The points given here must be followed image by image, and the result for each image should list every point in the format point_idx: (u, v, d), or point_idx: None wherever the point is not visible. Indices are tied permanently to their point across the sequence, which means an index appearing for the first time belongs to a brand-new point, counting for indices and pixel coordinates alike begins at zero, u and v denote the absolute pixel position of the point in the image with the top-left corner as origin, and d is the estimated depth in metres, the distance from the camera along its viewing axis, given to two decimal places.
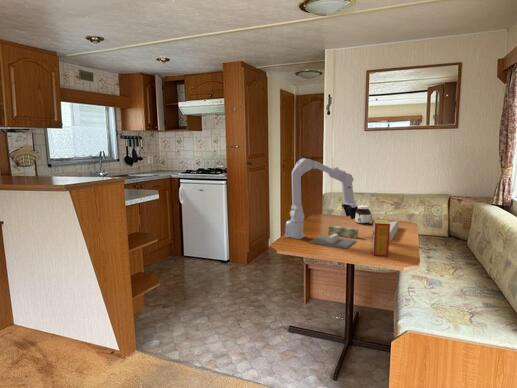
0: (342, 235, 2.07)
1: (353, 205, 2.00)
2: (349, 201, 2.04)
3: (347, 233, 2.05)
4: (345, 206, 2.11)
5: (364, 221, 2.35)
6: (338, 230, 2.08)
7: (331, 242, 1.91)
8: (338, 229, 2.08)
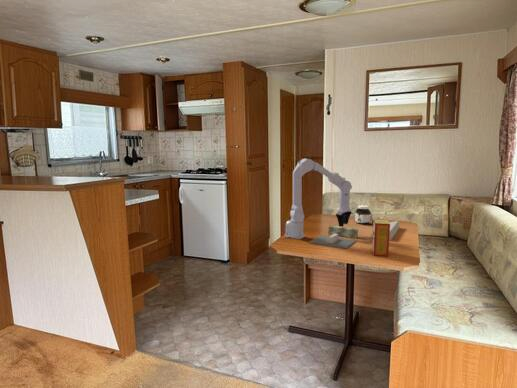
0: (342, 235, 2.07)
1: (339, 212, 2.01)
2: (341, 208, 2.05)
3: (347, 233, 2.05)
4: (344, 213, 2.11)
5: (364, 221, 2.35)
6: (338, 230, 2.08)
7: (331, 242, 1.91)
8: (338, 229, 2.08)
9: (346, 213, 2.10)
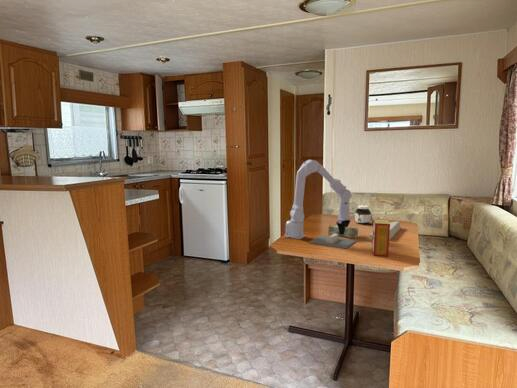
0: (342, 235, 2.07)
1: (338, 221, 2.02)
2: (341, 216, 2.05)
3: (347, 232, 2.06)
4: None
5: (364, 221, 2.35)
6: None
7: (331, 242, 1.91)
8: (338, 229, 2.08)
9: (345, 222, 2.09)
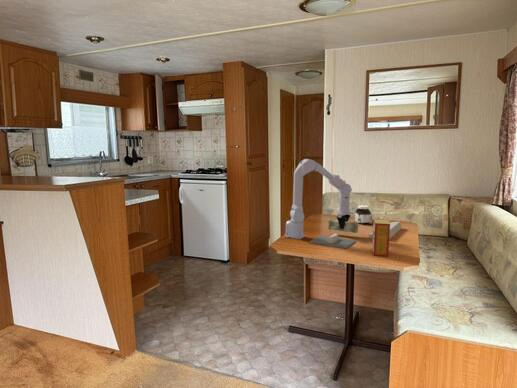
0: (342, 229, 2.07)
1: (339, 215, 2.01)
2: (341, 211, 2.05)
3: (348, 227, 2.05)
4: None
5: (364, 221, 2.35)
6: None
7: (331, 242, 1.91)
8: (338, 223, 2.07)
9: (345, 216, 2.09)
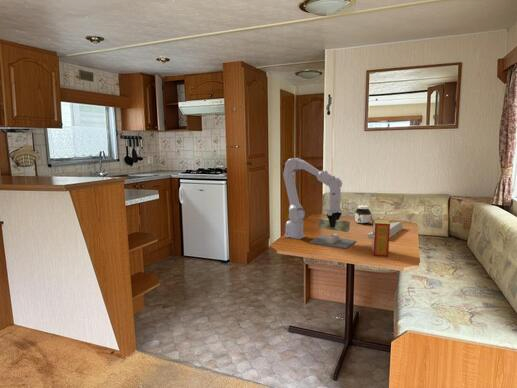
0: (333, 228, 1.93)
1: (329, 213, 1.88)
2: (331, 208, 1.91)
3: (338, 225, 1.92)
4: None
5: (364, 221, 2.35)
6: (329, 223, 1.94)
7: (331, 242, 1.91)
8: (328, 222, 1.94)
9: (336, 214, 1.96)
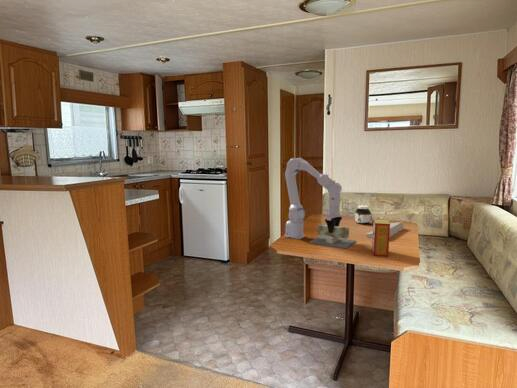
0: (332, 234, 1.93)
1: (328, 218, 1.87)
2: (330, 213, 1.91)
3: (337, 232, 1.91)
4: (333, 219, 1.97)
5: (364, 221, 2.35)
6: None
7: (331, 242, 1.91)
8: None
9: (336, 219, 1.96)
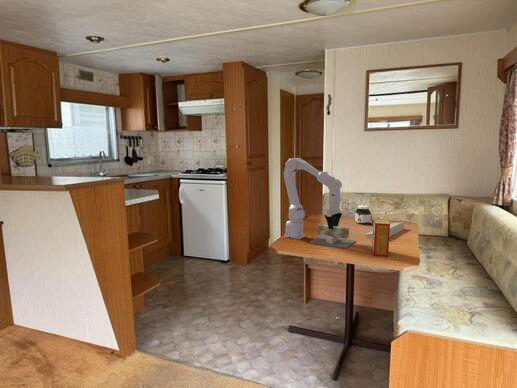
0: (332, 234, 1.93)
1: (328, 214, 1.87)
2: (331, 210, 1.91)
3: (337, 232, 1.91)
4: (334, 215, 1.97)
5: (364, 221, 2.35)
6: (328, 229, 1.94)
7: (331, 242, 1.91)
8: (328, 228, 1.94)
9: (336, 215, 1.96)
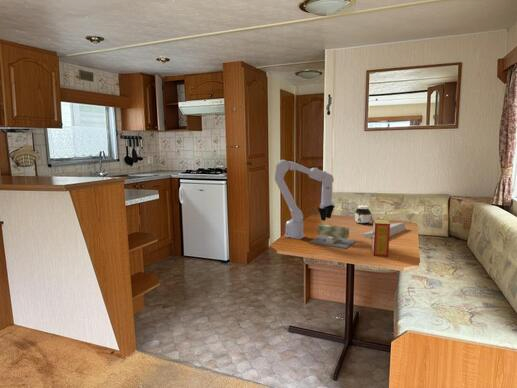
0: (332, 234, 1.93)
1: (321, 206, 1.96)
2: (323, 202, 2.00)
3: (337, 232, 1.91)
4: (326, 207, 2.06)
5: (364, 221, 2.35)
6: (328, 229, 1.94)
7: (331, 242, 1.91)
8: (328, 228, 1.94)
9: (329, 207, 2.06)
